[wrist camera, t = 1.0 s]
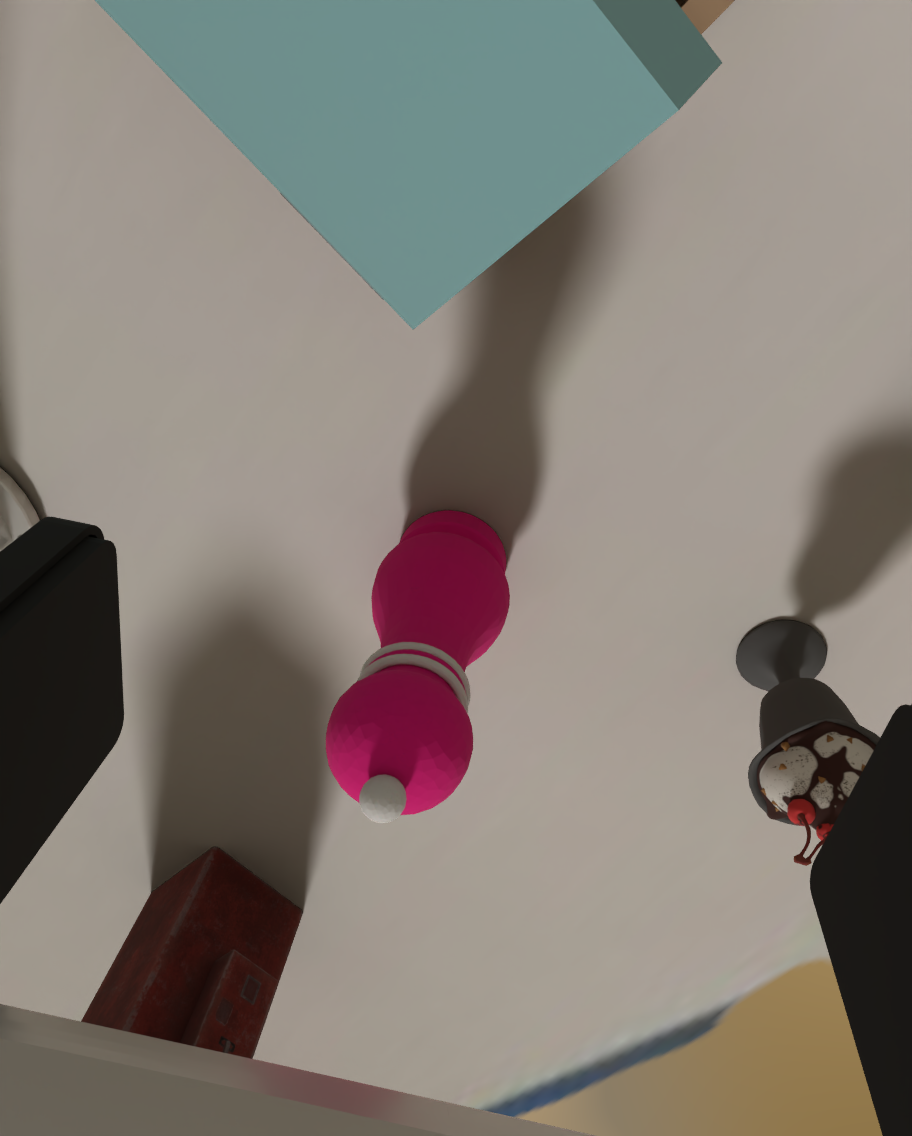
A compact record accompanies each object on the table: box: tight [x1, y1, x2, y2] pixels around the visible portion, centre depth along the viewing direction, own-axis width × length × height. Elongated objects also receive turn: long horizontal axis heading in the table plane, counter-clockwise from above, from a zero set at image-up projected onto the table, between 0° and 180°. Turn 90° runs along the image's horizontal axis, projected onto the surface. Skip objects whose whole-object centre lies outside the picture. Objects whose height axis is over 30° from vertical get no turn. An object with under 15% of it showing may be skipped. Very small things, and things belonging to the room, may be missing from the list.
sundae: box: [736, 620, 880, 866], centre depth 42 cm, size 7×7×15 cm
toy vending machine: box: [81, 847, 303, 1059], centre depth 53 cm, size 9×11×28 cm
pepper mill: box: [326, 510, 510, 823], centre depth 40 cm, size 7×7×20 cm
